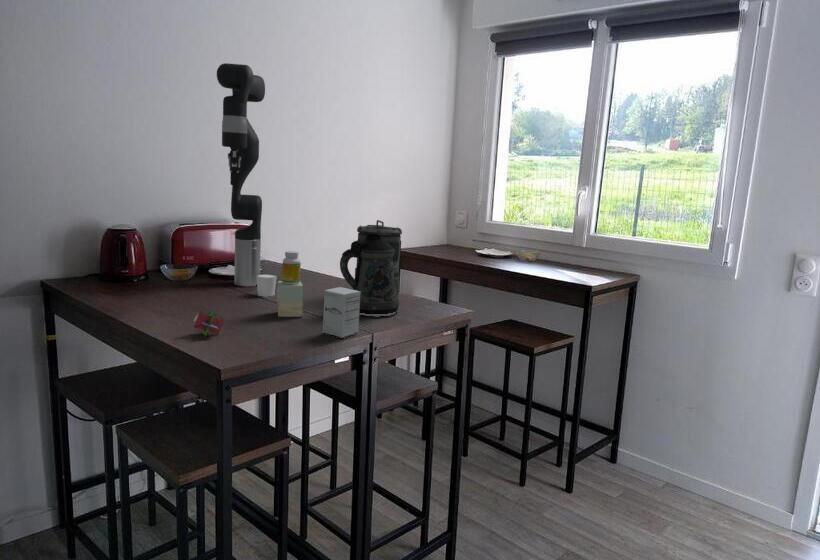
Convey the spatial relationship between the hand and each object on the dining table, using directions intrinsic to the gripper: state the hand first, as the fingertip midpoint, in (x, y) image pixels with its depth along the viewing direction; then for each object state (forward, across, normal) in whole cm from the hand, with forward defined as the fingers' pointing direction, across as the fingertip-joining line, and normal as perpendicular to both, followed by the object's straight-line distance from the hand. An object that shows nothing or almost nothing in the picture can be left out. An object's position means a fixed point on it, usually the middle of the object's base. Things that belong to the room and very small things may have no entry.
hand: (234, 184), depth 190 cm
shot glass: (+38, +11, -11) cm, 41 cm away
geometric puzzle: (+38, -37, +6) cm, 54 cm away
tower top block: (+33, -16, -17) cm, 40 cm away
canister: (+38, +6, -49) cm, 62 cm away
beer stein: (+38, -13, -43) cm, 59 cm away
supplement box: (+38, -38, -29) cm, 61 cm away
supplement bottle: (+28, -16, -17) cm, 37 cm away
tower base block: (+38, -16, -17) cm, 45 cm away
